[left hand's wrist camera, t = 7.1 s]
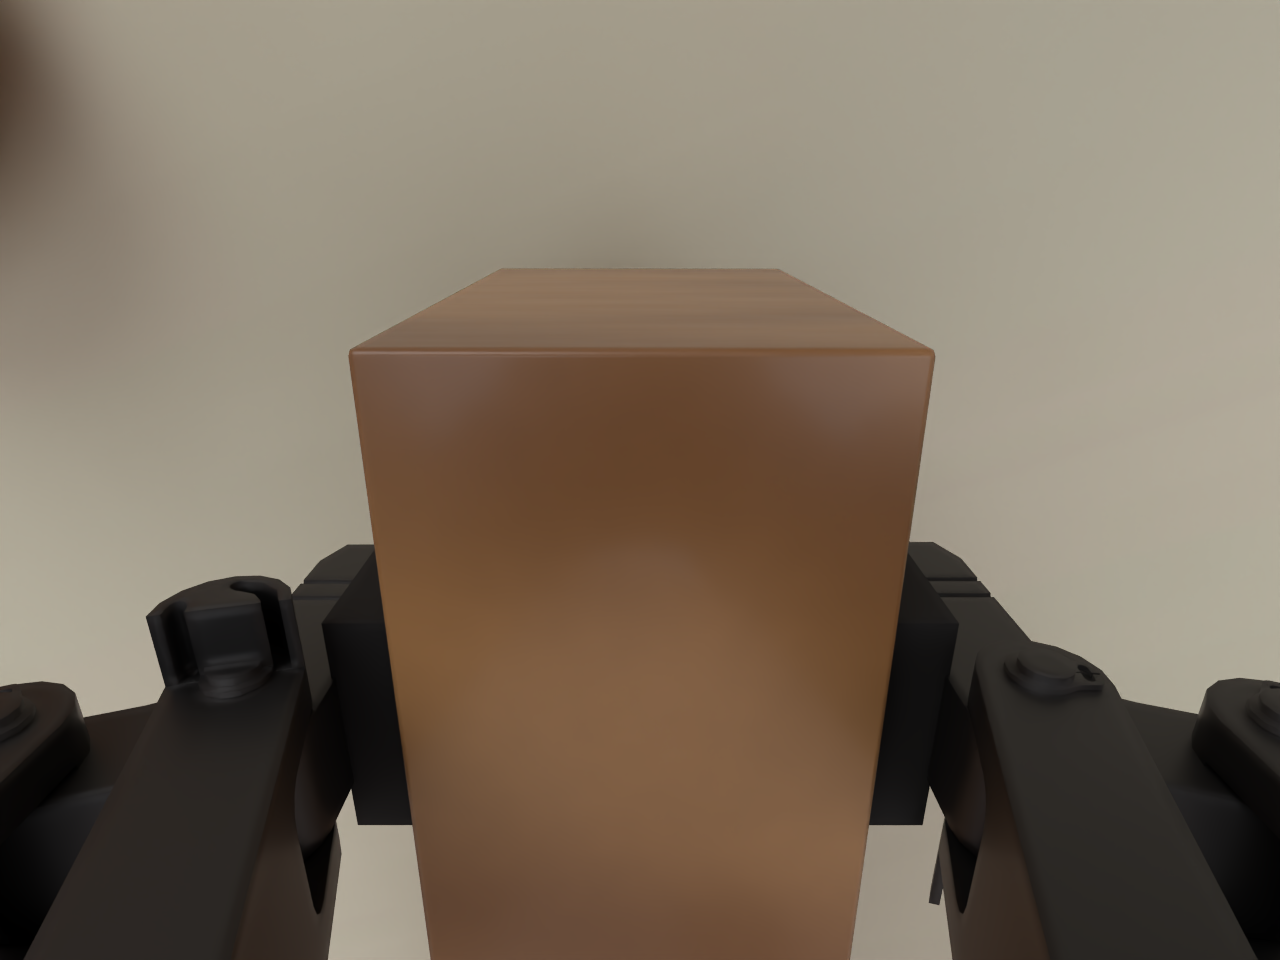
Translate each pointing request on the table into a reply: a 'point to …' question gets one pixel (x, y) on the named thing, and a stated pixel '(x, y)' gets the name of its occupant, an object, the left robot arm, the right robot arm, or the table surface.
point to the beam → (641, 604)
